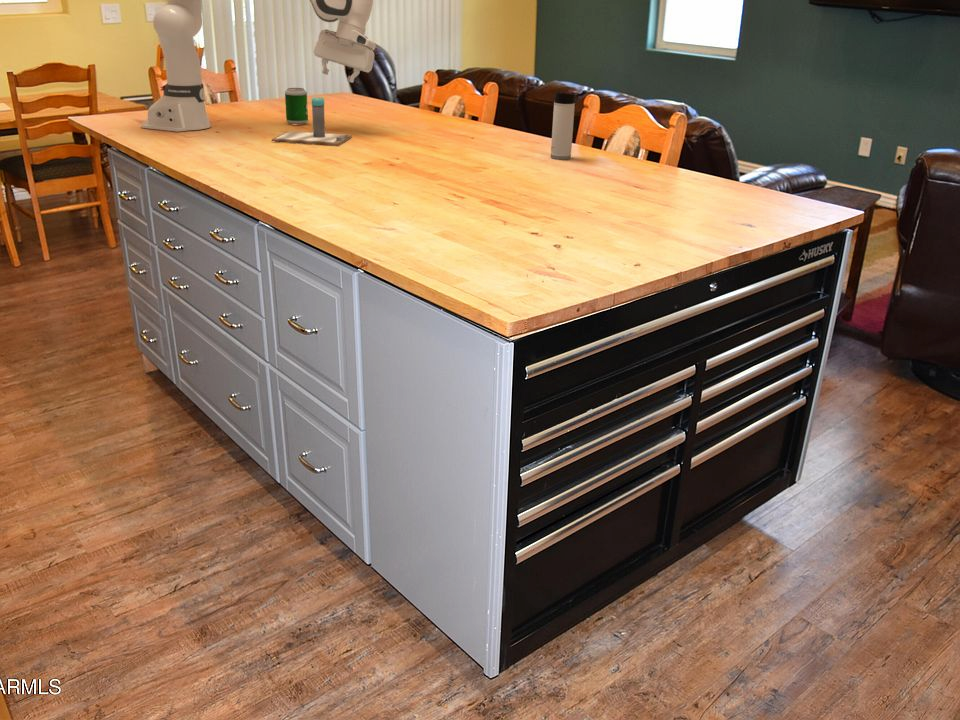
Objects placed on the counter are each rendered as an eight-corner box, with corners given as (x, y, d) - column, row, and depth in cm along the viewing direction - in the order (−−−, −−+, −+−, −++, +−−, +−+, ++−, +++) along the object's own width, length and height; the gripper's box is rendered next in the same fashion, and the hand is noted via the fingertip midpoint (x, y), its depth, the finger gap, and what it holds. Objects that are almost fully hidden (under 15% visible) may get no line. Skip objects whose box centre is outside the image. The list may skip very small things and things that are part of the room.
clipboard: (271, 141, 287) (271, 136, 286) (287, 133, 301) (287, 128, 300) (338, 146, 284) (338, 140, 284) (351, 137, 298) (351, 132, 297)
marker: (311, 137, 291) (309, 98, 286) (315, 134, 295) (313, 97, 290) (323, 137, 291) (321, 99, 286) (327, 135, 294) (325, 97, 289)
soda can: (305, 126, 314) (304, 90, 309) (284, 125, 314) (282, 89, 309) (310, 122, 321) (308, 87, 316) (289, 121, 321) (287, 86, 316)
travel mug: (546, 158, 278) (551, 91, 269) (555, 154, 283) (559, 89, 275) (565, 161, 275) (570, 93, 267) (573, 157, 280) (578, 91, 272)
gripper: (317, 25, 293) (305, 67, 295) (373, 42, 289) (361, 84, 291) (325, 30, 299) (313, 71, 301) (380, 46, 295) (368, 88, 297)
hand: (337, 78), depth 296 cm, fingers open, 8 cm apart
